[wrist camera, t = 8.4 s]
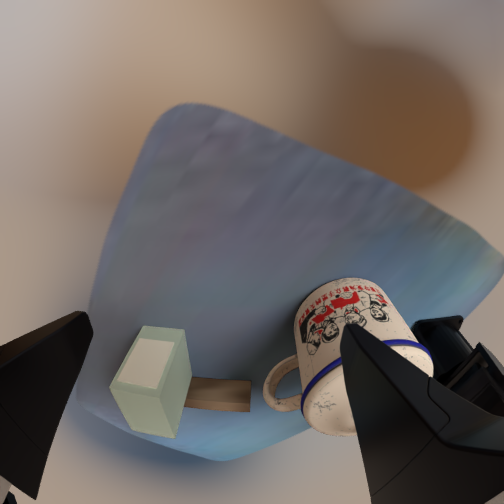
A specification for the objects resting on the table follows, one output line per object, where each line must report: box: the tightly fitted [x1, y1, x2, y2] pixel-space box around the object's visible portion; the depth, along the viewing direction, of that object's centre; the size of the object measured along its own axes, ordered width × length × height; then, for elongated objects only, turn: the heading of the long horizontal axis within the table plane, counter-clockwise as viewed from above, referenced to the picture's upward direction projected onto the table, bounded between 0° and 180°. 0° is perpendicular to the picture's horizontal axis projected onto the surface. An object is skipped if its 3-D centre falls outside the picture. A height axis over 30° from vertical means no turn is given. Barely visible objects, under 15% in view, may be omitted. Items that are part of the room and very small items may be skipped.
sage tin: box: [109, 326, 192, 439], centre depth 21 cm, size 4×6×8 cm, turn 179°
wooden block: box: [184, 377, 251, 412], centre depth 25 cm, size 12×2×3 cm, turn 89°
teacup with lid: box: [263, 278, 433, 436], centre depth 17 cm, size 12×9×12 cm
